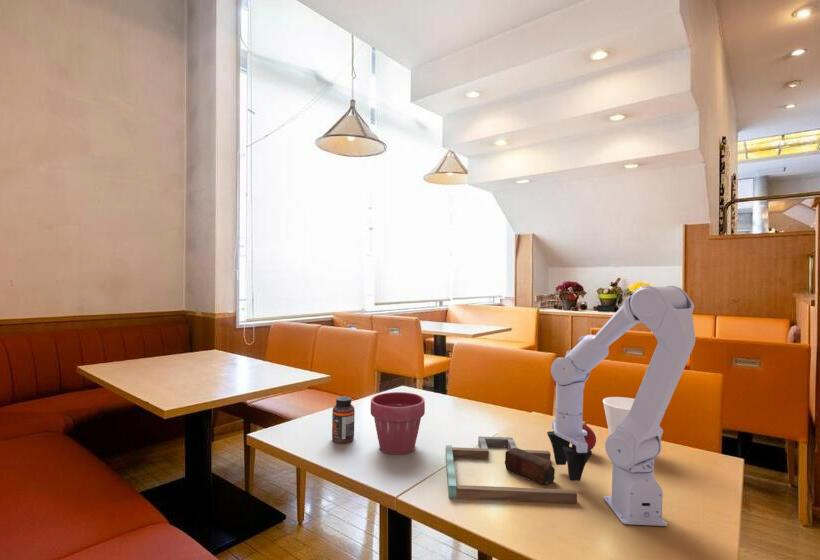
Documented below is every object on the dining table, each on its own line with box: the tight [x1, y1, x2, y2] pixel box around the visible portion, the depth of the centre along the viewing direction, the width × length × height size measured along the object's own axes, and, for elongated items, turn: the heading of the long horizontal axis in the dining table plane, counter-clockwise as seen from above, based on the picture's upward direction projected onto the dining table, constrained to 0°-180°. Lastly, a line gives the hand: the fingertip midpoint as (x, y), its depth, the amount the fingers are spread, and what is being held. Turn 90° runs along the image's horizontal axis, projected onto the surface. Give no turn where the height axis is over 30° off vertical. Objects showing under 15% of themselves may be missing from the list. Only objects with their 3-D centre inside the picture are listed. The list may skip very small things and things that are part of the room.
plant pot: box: [370, 391, 426, 455], centre depth 113 cm, size 14×14×13 cm
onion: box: [582, 421, 597, 451], centre depth 112 cm, size 6×6×8 cm
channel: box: [445, 435, 578, 504], centre depth 102 cm, size 29×26×2 cm
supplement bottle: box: [331, 395, 356, 444], centre depth 118 cm, size 6×6×11 cm
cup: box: [602, 396, 635, 436], centre depth 114 cm, size 12×12×12 cm
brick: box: [504, 447, 556, 486], centre depth 99 cm, size 11×4×5 cm, turn 43°
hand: (567, 471), depth 97 cm, fingers open, 7 cm apart
